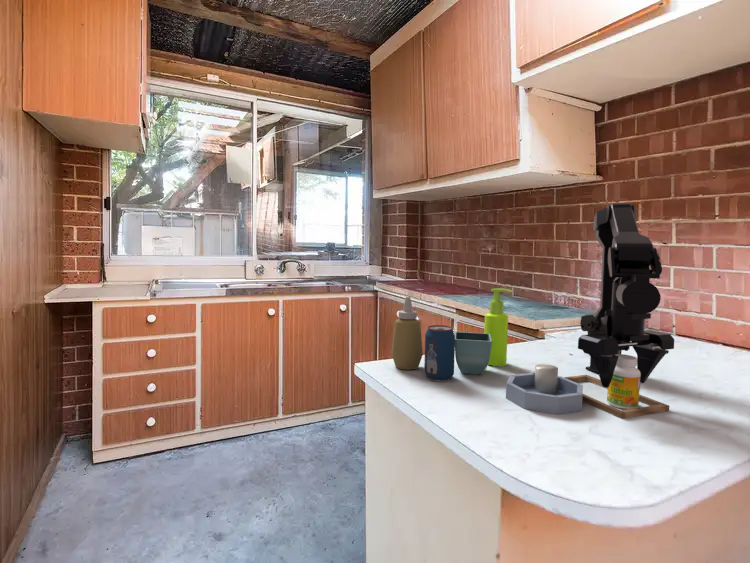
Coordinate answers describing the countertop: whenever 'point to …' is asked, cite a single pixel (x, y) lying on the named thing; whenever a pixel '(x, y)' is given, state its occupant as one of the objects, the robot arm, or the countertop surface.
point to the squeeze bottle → (407, 339)
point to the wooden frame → (653, 408)
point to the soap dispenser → (497, 329)
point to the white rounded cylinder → (546, 378)
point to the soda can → (439, 353)
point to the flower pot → (472, 351)
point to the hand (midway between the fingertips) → (623, 384)
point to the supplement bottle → (624, 383)
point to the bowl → (544, 395)
